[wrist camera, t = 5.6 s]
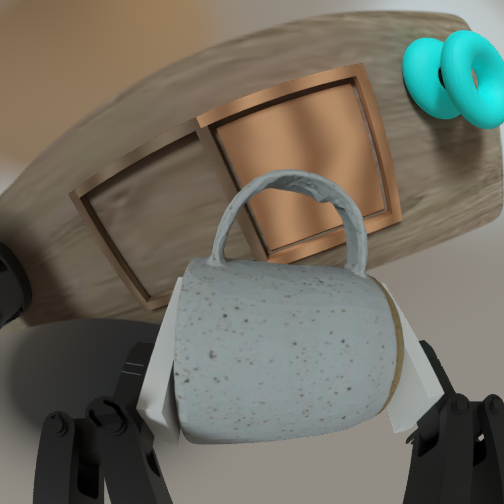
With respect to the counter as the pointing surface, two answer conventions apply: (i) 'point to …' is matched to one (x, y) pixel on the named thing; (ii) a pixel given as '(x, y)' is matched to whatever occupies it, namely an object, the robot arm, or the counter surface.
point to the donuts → (457, 78)
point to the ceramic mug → (283, 335)
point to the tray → (280, 167)
